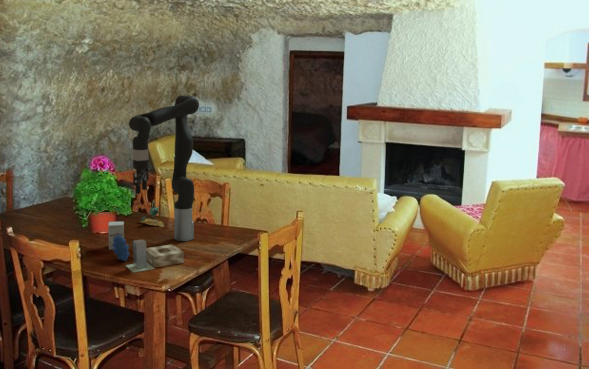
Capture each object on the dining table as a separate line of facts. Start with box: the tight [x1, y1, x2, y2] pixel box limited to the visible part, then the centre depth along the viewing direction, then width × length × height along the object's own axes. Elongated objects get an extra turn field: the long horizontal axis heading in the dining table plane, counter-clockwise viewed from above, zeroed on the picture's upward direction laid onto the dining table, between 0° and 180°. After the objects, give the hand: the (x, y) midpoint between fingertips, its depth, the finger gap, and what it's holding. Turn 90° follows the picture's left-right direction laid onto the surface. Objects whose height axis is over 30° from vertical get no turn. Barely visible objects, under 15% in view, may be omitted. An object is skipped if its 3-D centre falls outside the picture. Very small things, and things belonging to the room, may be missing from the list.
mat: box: [125, 261, 156, 274], centre depth 266 cm, size 10×10×1 cm
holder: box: [146, 244, 185, 268], centre depth 276 cm, size 14×14×5 cm
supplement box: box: [107, 221, 125, 251], centre depth 293 cm, size 7×7×13 cm
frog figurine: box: [139, 200, 165, 228], centre depth 337 cm, size 10×18×15 cm, turn 55°
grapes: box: [112, 235, 130, 262], centre depth 274 cm, size 12×7×12 cm, turn 50°
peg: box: [132, 239, 148, 269], centre depth 265 cm, size 4×4×12 cm
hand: (141, 191), depth 283 cm, fingers open, 8 cm apart
